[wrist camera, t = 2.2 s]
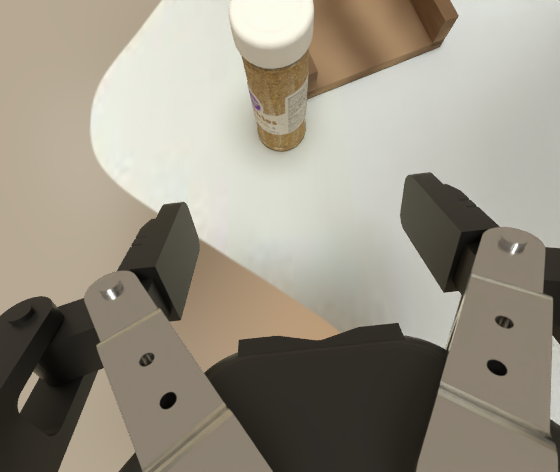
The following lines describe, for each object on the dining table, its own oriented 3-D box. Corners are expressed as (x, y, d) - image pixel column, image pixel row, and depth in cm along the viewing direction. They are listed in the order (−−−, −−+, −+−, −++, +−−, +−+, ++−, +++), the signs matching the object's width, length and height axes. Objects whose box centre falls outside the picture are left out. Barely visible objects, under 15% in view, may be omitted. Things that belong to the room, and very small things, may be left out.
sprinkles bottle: (248, 131, 29) (208, 8, 16) (281, 98, 30) (268, -50, 16) (283, 162, 29) (272, 61, 15) (316, 128, 29) (333, -1, 16)
